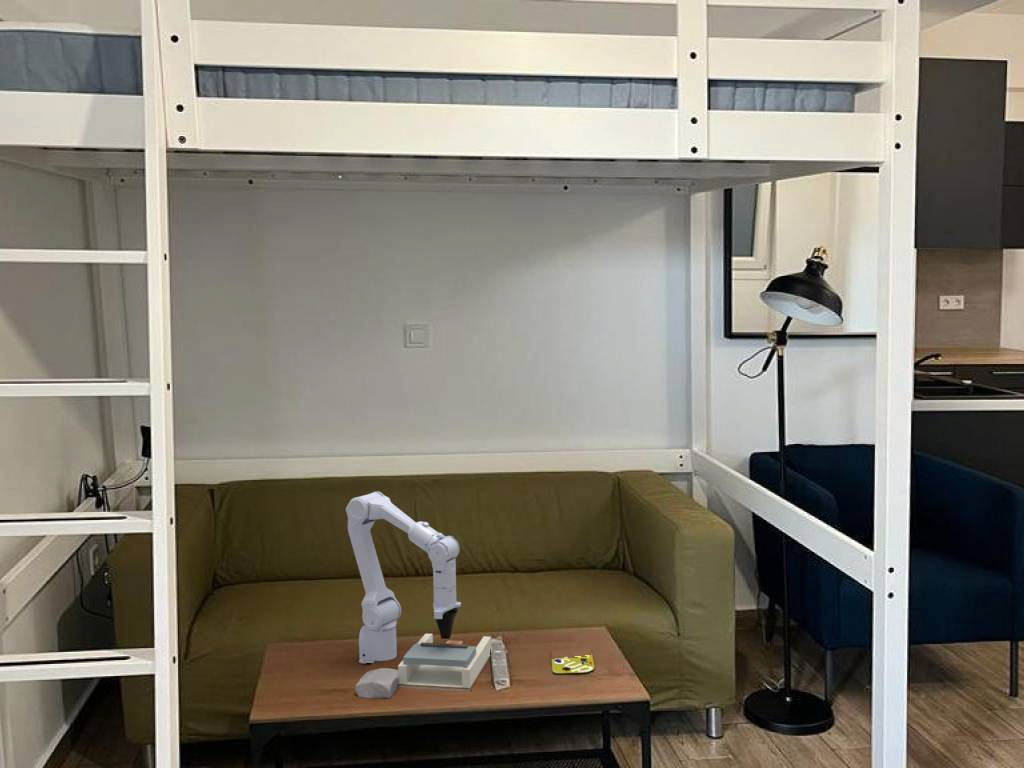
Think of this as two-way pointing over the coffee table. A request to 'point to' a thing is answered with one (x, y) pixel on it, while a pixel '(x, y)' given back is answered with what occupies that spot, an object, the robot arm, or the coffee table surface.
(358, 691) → the stone block
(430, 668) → the white sliding box
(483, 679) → the coffee table surface
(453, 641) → the block
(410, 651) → the slide cover
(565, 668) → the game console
